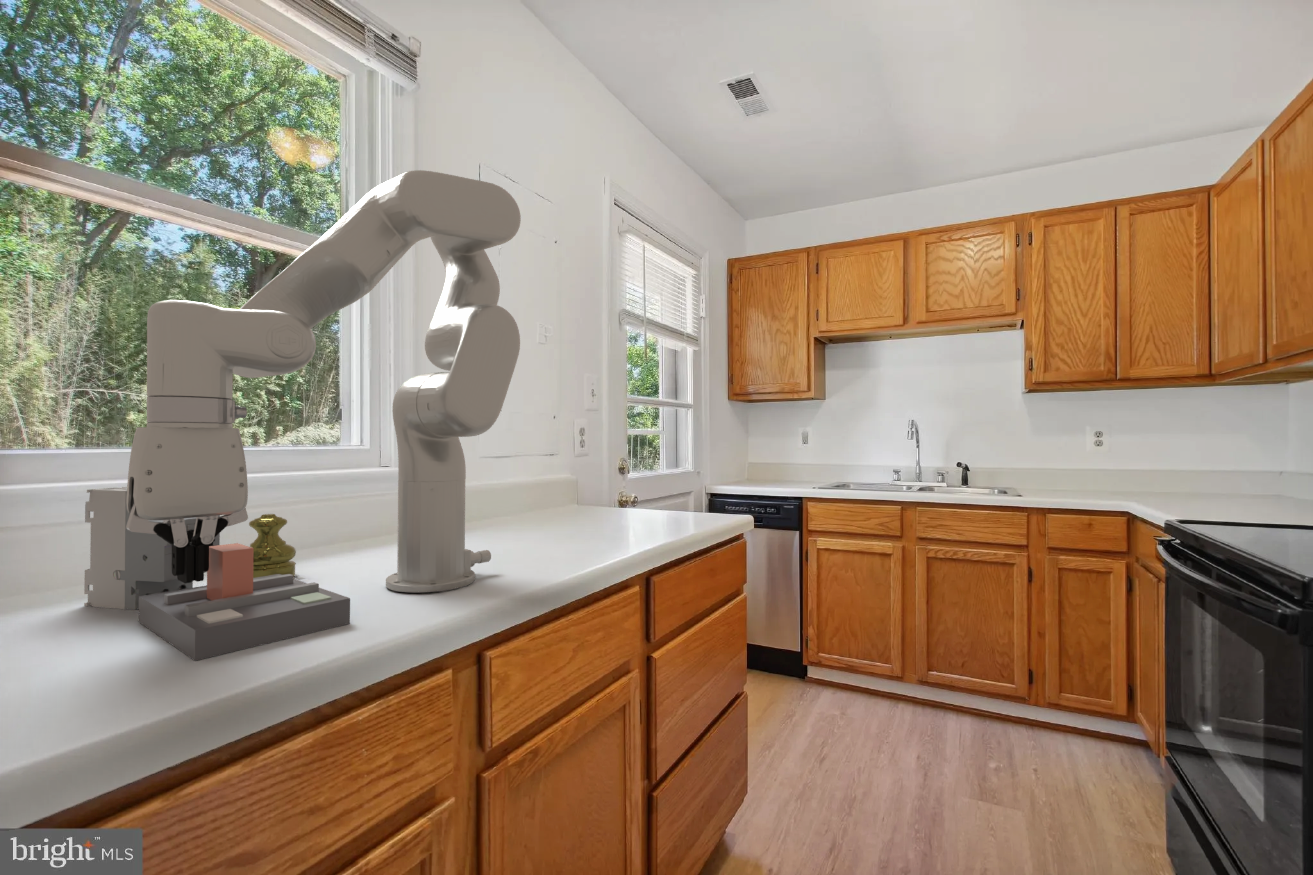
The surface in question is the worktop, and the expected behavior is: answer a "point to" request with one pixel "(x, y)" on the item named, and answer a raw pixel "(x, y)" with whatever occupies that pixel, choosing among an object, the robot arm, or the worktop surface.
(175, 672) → the worktop surface
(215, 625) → the breaker panel
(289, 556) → the brass knob
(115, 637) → the worktop surface
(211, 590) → the handle
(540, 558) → the worktop surface
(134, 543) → the circuit breaker
